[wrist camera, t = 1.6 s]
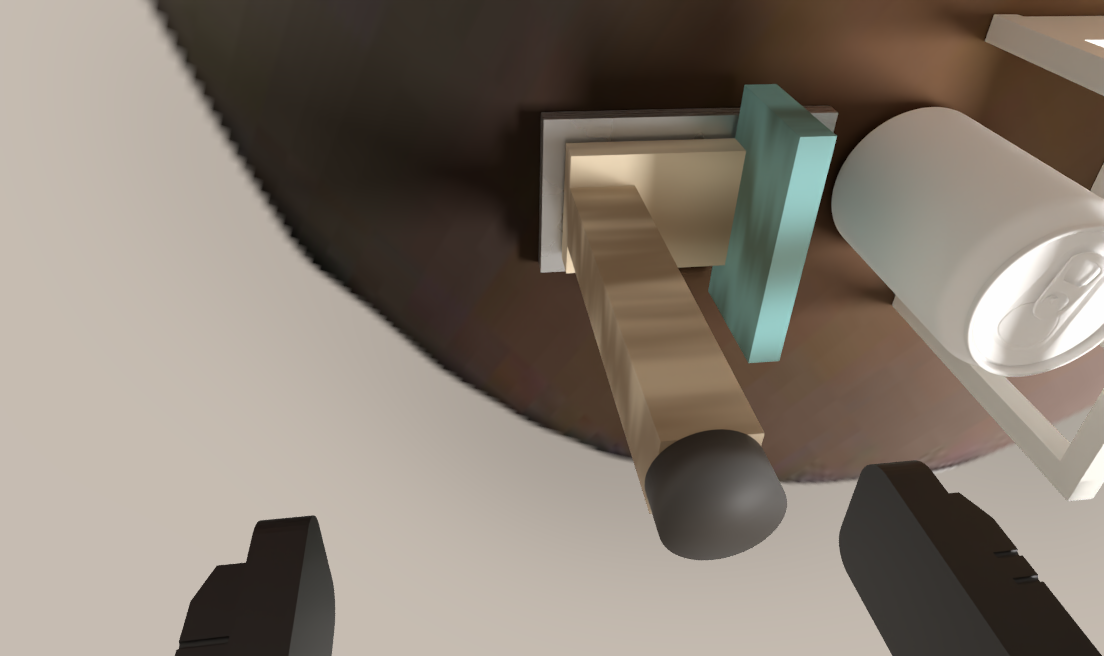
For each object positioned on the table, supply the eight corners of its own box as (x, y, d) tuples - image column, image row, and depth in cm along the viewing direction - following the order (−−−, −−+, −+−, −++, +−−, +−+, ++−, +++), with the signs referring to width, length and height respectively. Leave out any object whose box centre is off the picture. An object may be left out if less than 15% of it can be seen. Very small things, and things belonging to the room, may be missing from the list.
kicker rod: (561, 88, 32) (684, 364, 17) (776, 84, 34) (1075, 338, 18) (554, 299, 39) (639, 639, 23) (735, 289, 40) (929, 606, 25)
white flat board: (540, 112, 34) (543, 119, 33) (829, 105, 36) (838, 112, 35) (538, 262, 39) (540, 272, 38) (793, 249, 41) (801, 259, 40)
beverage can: (795, 220, 40) (914, 360, 30) (890, 77, 36) (1062, 185, 26) (909, 263, 42) (1051, 404, 33) (1009, 134, 38) (1205, 252, 29)
